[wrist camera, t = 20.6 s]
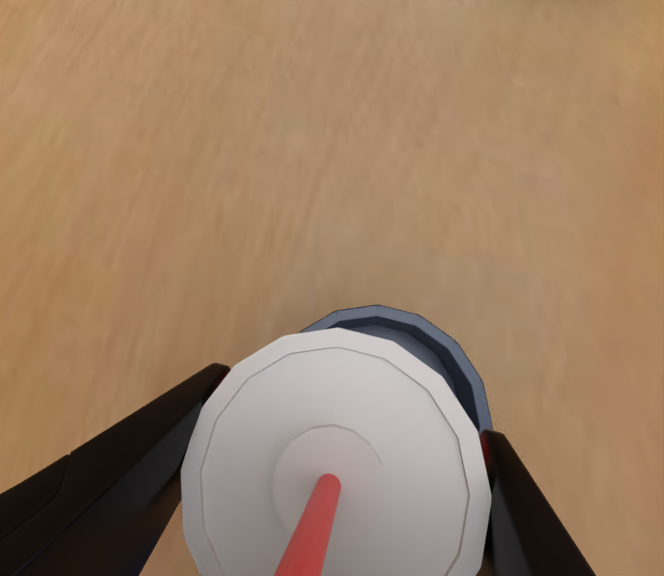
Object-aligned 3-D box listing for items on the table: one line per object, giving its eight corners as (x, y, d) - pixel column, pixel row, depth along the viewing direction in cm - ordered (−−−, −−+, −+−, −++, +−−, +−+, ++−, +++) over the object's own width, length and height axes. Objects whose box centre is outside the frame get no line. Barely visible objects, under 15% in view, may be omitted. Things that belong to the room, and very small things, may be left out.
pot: (506, 392, 21) (537, 398, 17) (393, 557, 20) (399, 604, 16) (353, 282, 23) (350, 265, 19) (243, 425, 22) (216, 438, 18)
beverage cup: (273, 496, 16) (-309, 1252, 2) (285, 347, 17) (-33, 248, 4) (423, 510, 15) (901, 1680, 2) (423, 355, 16) (687, 268, 3)
